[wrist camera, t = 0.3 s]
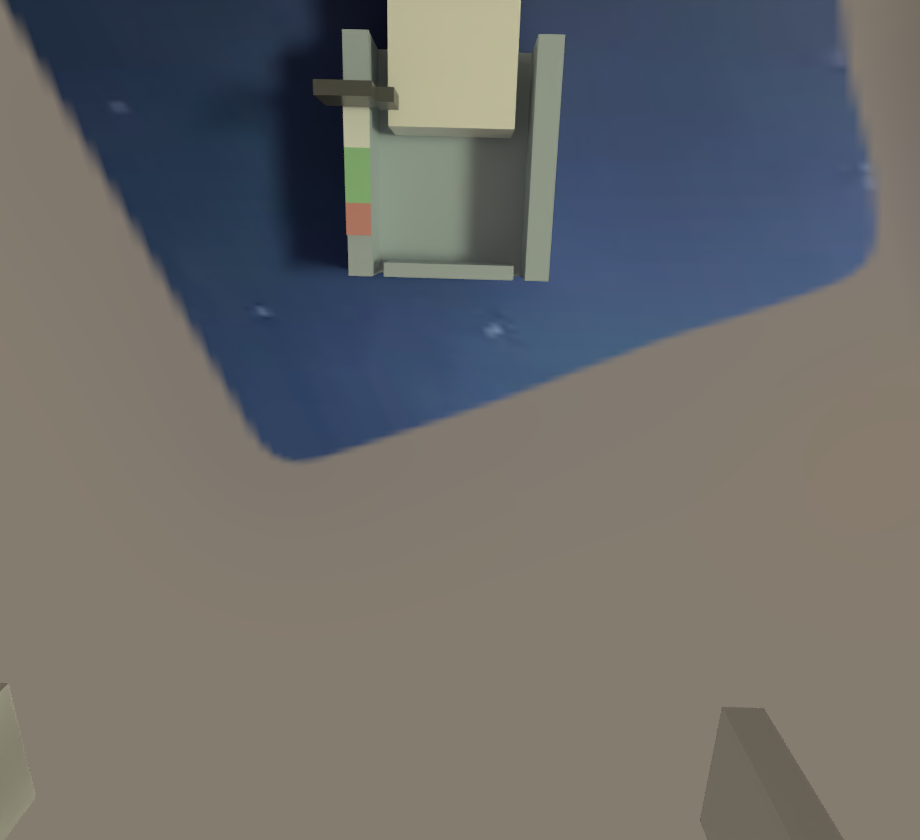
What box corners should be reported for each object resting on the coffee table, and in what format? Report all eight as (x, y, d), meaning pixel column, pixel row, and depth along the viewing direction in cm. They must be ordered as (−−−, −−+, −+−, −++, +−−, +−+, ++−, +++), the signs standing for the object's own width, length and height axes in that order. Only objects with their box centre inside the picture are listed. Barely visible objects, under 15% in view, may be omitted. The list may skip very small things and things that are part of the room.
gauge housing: (350, 53, 32) (331, 26, 28) (560, 59, 32) (575, 32, 28) (355, 270, 35) (339, 275, 31) (546, 275, 35) (557, 281, 31)
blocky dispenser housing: (336, -72, 29) (303, -146, 23) (520, -68, 29) (532, -141, 23) (342, 133, 32) (314, 113, 26) (510, 138, 32) (519, 118, 26)
